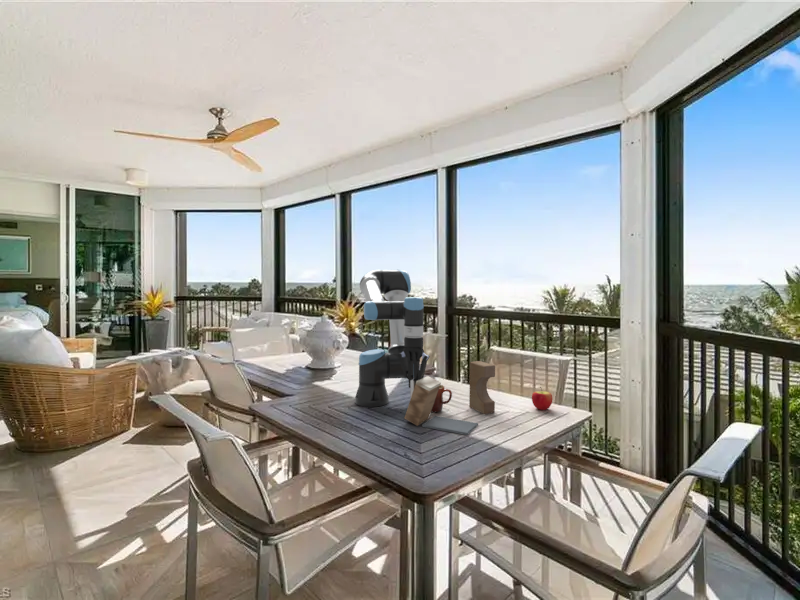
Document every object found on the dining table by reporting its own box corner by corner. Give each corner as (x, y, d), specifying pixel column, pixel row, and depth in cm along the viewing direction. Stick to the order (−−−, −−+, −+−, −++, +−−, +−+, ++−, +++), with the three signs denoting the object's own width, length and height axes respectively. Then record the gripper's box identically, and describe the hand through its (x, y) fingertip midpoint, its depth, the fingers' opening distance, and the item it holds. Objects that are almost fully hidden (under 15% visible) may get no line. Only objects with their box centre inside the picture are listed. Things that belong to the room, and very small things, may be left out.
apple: (528, 409, 190) (528, 386, 189) (537, 405, 196) (537, 382, 196) (546, 413, 184) (547, 389, 184) (555, 408, 191) (555, 385, 190)
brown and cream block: (404, 418, 172) (416, 381, 168) (415, 411, 180) (427, 375, 177) (417, 425, 169) (430, 388, 165) (428, 418, 178) (441, 382, 174)
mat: (422, 426, 168) (422, 424, 168) (435, 417, 178) (435, 415, 178) (467, 435, 159) (467, 432, 159) (478, 425, 170) (478, 423, 170)
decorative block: (495, 412, 185) (495, 365, 184) (483, 414, 183) (484, 366, 181) (479, 405, 195) (480, 360, 194) (468, 407, 193) (469, 361, 191)
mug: (421, 412, 186) (421, 388, 185) (426, 406, 194) (426, 383, 193) (449, 415, 182) (449, 390, 181) (453, 409, 190) (454, 385, 189)
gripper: (394, 336, 173) (394, 396, 174) (424, 338, 167) (424, 400, 168) (403, 334, 180) (403, 392, 181) (432, 336, 173) (432, 396, 174)
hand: (413, 396), depth 174 cm, fingers closed
